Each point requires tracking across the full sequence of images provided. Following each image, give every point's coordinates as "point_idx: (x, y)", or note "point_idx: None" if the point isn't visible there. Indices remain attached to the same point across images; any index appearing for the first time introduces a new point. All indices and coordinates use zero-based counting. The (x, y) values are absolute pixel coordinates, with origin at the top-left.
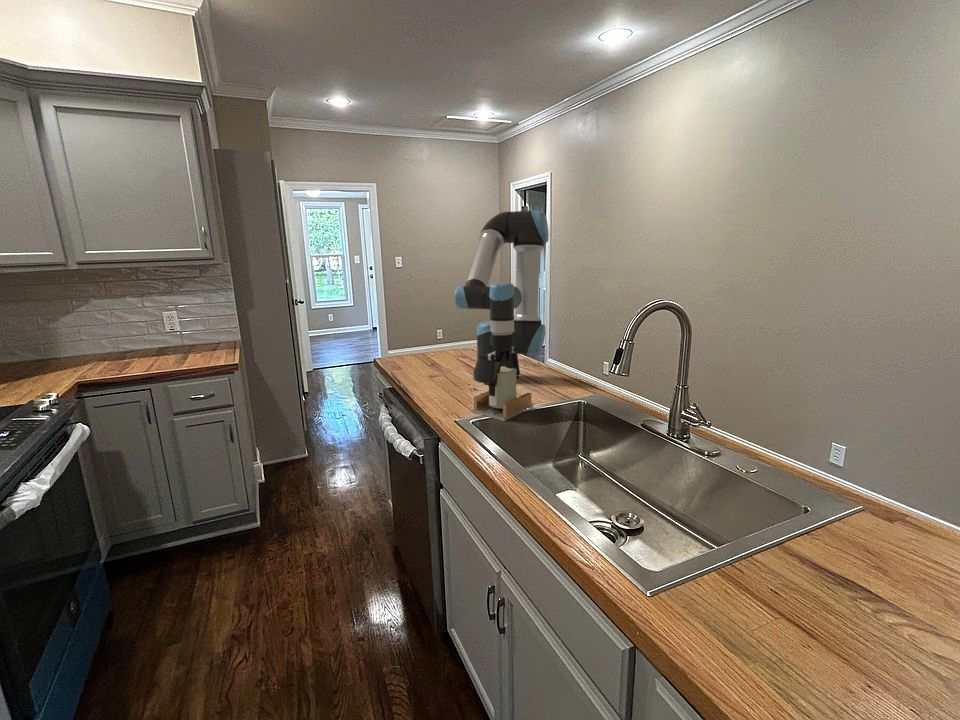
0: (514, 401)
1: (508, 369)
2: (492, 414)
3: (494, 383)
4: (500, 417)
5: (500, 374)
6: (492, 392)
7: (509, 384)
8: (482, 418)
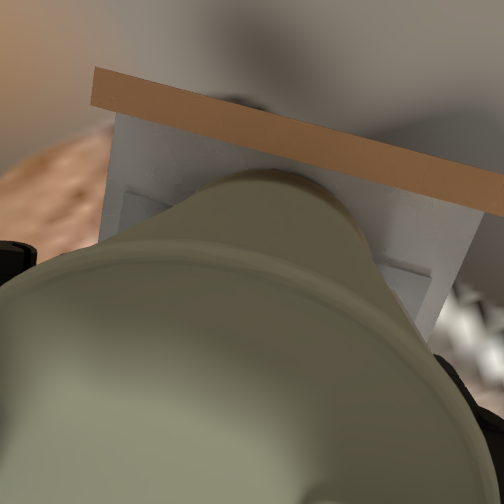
0: (383, 143)
1: (94, 430)
2: (441, 284)
3: (502, 439)
4: (483, 211)
5: (488, 483)
6: (463, 383)
7: (352, 251)
8: (468, 330)
